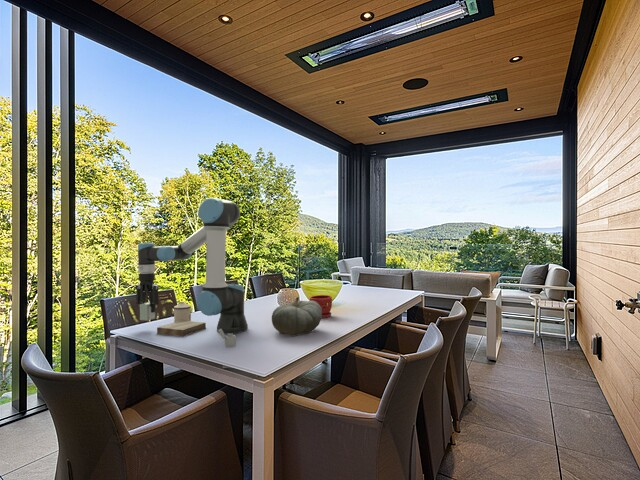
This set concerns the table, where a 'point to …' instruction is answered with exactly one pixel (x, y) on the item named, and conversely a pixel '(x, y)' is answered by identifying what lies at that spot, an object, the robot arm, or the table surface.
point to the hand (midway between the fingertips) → (147, 318)
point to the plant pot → (323, 304)
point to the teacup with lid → (182, 312)
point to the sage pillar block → (144, 311)
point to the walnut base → (181, 328)
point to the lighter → (228, 339)
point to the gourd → (297, 317)
